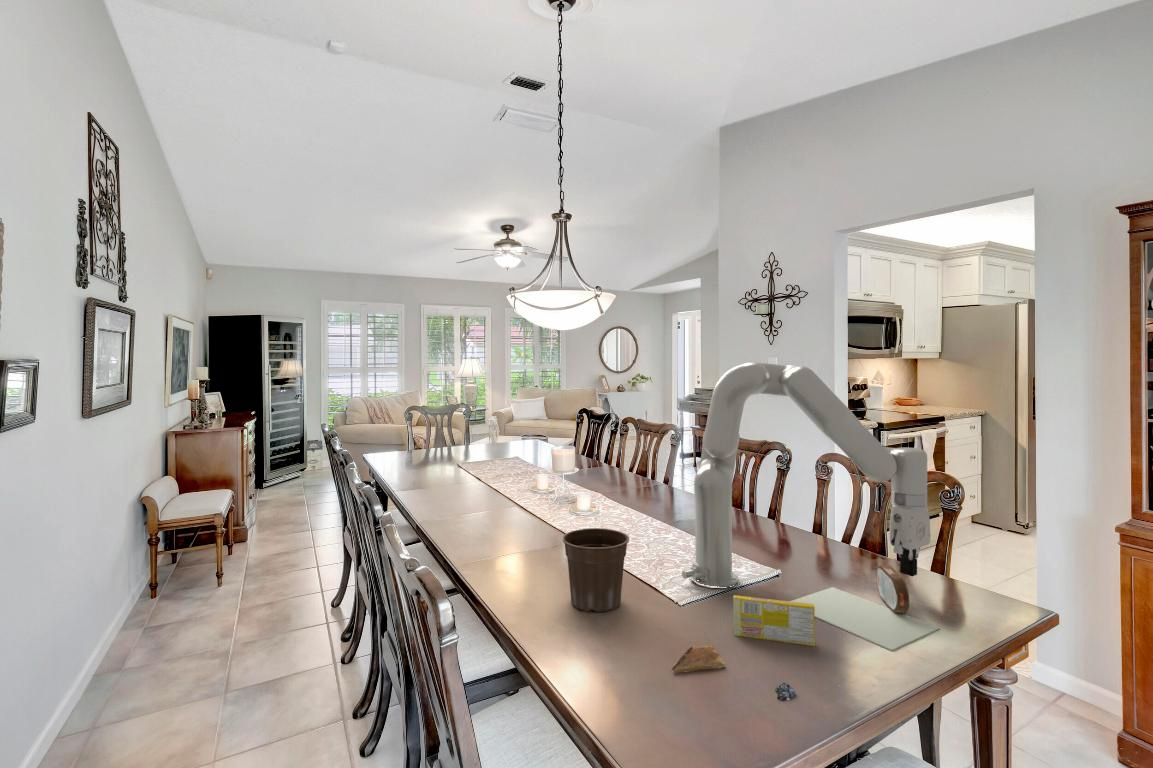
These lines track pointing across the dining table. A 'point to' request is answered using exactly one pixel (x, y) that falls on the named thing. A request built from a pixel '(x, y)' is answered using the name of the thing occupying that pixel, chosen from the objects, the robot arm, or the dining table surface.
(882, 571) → the tin
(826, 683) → the dining table surface
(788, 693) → the blueberries
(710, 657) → the shard
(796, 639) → the candy box
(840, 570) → the dining table surface
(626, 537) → the plant pot
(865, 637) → the placemat
